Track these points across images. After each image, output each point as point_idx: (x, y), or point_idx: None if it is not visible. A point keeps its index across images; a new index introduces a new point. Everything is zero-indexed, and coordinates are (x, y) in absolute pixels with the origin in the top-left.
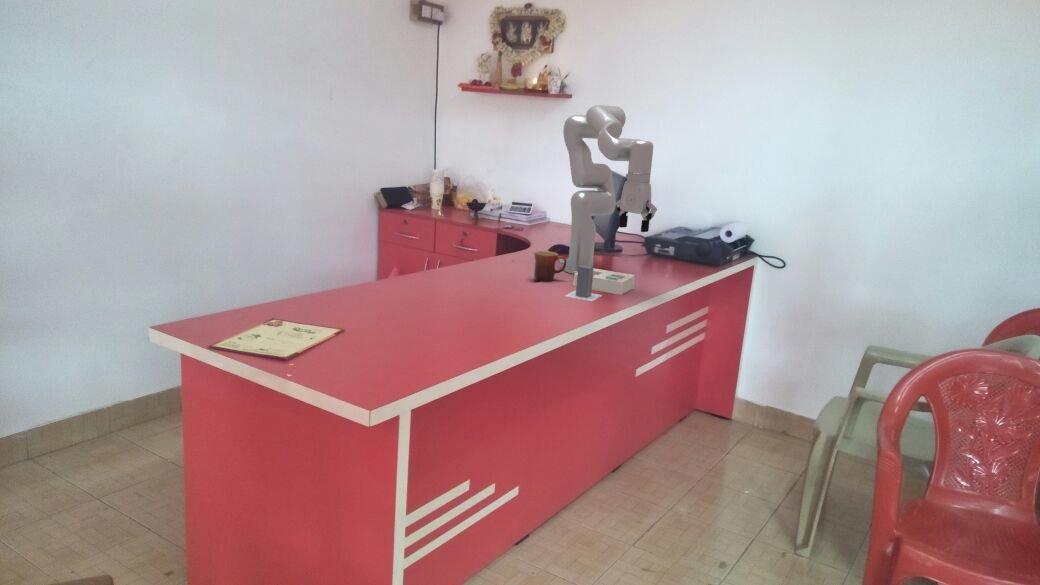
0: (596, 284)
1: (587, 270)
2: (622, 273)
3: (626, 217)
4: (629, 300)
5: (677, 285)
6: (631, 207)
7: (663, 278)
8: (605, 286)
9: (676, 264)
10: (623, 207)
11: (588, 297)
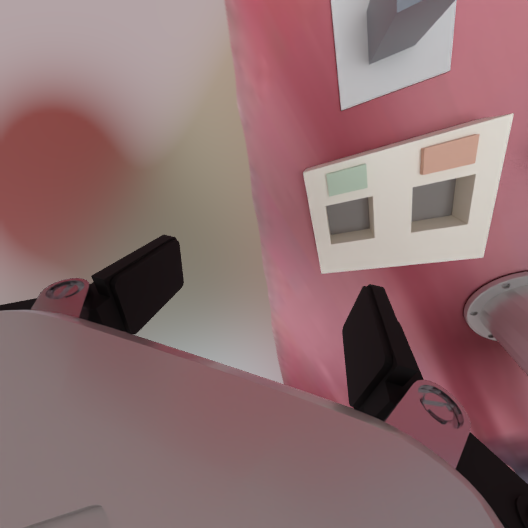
0: (389, 146)
1: None
2: (355, 266)
3: (354, 387)
4: (273, 152)
5: (279, 330)
6: (85, 450)
7: (320, 355)
8: (356, 155)
9: None
10: (378, 511)
11: (363, 24)
